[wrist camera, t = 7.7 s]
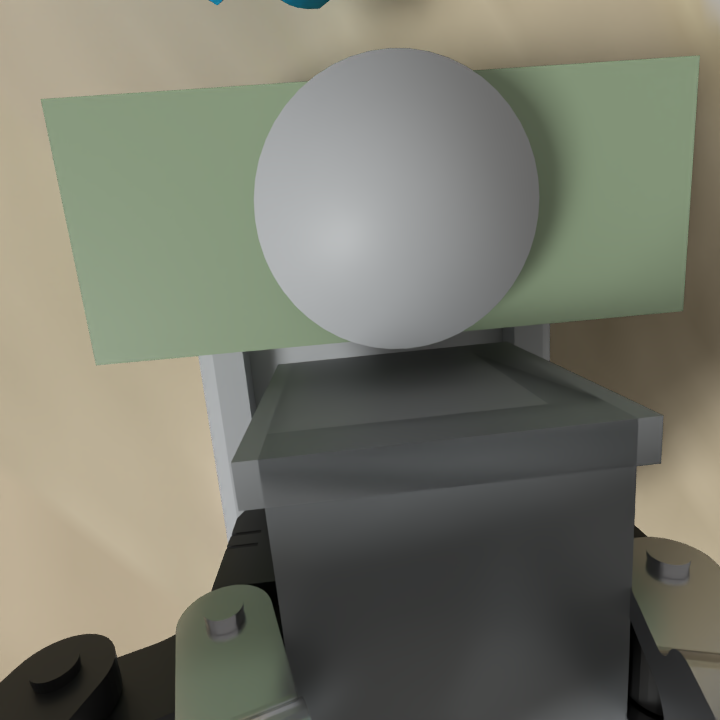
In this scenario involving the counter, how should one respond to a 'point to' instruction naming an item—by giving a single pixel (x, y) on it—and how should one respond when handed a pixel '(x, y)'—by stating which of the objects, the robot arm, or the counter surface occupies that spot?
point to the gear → (296, 3)
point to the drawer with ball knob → (372, 214)
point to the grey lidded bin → (450, 533)
